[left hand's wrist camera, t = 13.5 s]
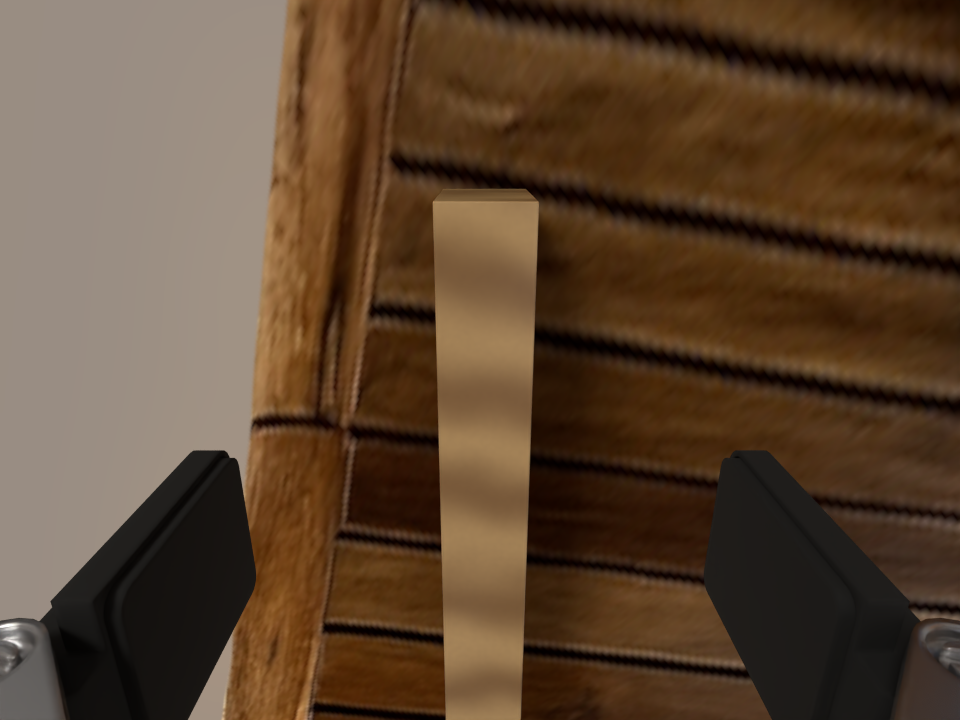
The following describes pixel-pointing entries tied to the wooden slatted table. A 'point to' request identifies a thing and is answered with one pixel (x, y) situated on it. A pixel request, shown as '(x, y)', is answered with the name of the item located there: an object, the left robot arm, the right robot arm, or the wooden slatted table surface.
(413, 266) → the wooden slatted table surface
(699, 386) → the wooden slatted table surface
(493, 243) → the bar
